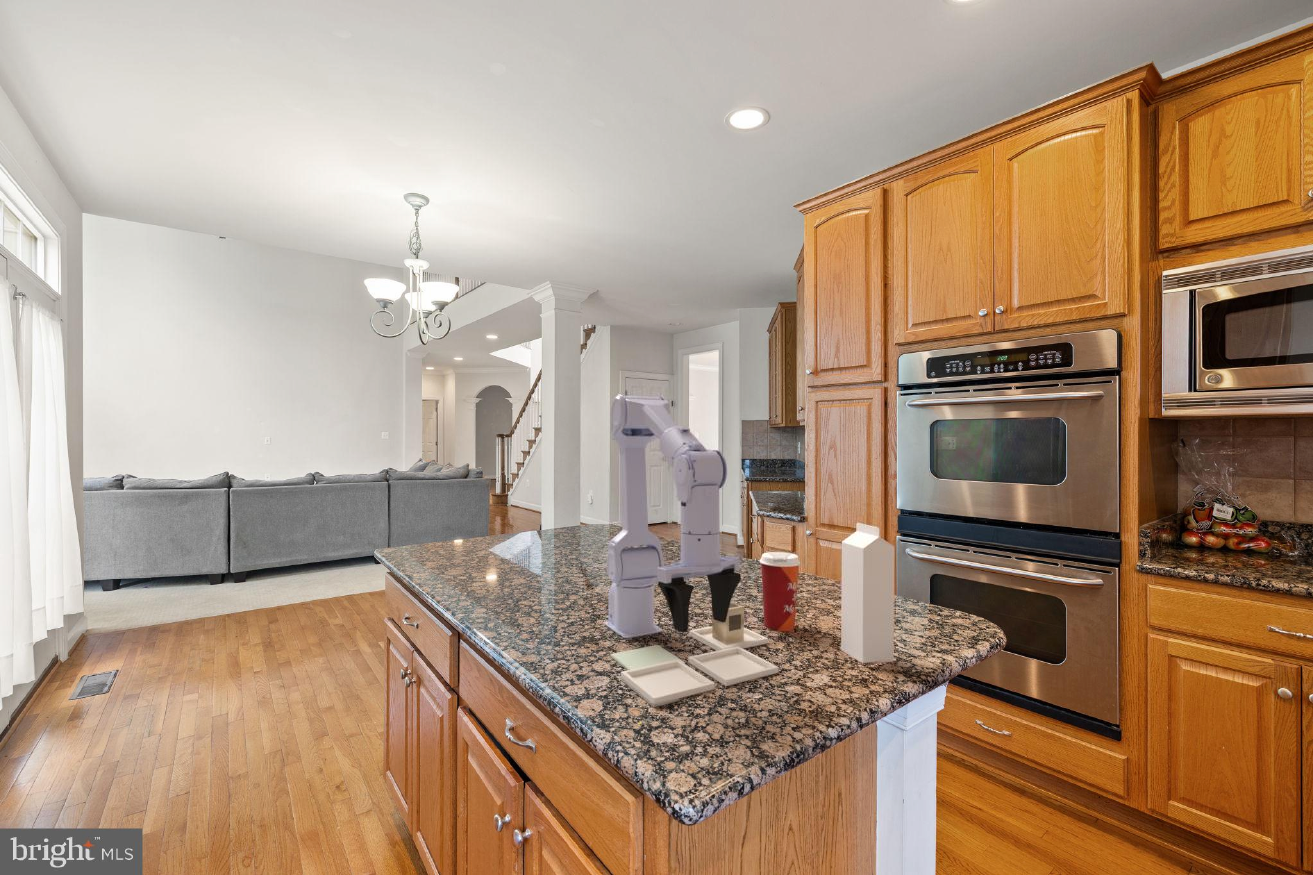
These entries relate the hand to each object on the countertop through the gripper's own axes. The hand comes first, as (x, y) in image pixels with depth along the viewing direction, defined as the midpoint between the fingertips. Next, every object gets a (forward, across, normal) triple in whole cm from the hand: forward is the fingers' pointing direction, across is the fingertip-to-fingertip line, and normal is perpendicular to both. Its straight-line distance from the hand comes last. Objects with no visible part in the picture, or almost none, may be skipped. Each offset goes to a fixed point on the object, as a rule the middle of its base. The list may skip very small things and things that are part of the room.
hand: (700, 625), depth 83 cm
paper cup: (+8, +29, +10) cm, 32 cm away
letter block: (+8, +16, +11) cm, 21 cm away
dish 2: (+8, +16, +11) cm, 21 cm away
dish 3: (+9, +8, +1) cm, 12 cm away
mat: (+8, -1, +12) cm, 15 cm away
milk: (+9, +30, -8) cm, 32 cm away
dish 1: (+9, -4, +3) cm, 10 cm away
